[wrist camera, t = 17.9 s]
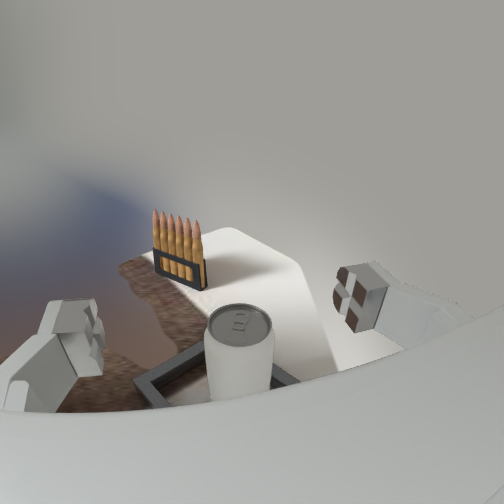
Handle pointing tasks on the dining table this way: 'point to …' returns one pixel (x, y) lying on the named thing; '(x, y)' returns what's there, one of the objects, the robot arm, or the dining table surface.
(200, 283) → the ammunition clip
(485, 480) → the robot arm
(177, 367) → the dark grey square frame
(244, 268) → the dining table surface
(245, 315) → the can
